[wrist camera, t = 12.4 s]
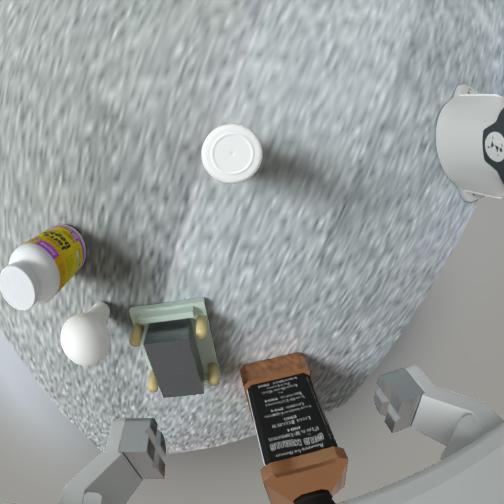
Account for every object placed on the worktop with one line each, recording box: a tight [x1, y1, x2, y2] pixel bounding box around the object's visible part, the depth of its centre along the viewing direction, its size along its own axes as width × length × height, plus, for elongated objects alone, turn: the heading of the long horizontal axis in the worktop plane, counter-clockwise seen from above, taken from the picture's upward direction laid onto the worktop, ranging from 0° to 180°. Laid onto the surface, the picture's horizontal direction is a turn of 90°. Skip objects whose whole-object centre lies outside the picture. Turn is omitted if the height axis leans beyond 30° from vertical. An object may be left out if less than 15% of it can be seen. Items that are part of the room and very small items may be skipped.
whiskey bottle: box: [240, 353, 348, 504], centre depth 31 cm, size 10×10×32 cm
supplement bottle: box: [0, 224, 86, 311], centre depth 29 cm, size 7×7×13 cm
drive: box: [143, 318, 204, 398], centre depth 38 cm, size 6×9×5 cm, turn 7°
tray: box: [129, 297, 221, 392], centre depth 39 cm, size 10×13×5 cm
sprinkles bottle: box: [201, 124, 263, 184], centre depth 28 cm, size 5×5×13 cm
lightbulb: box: [61, 302, 111, 366], centre depth 33 cm, size 6×6×11 cm
